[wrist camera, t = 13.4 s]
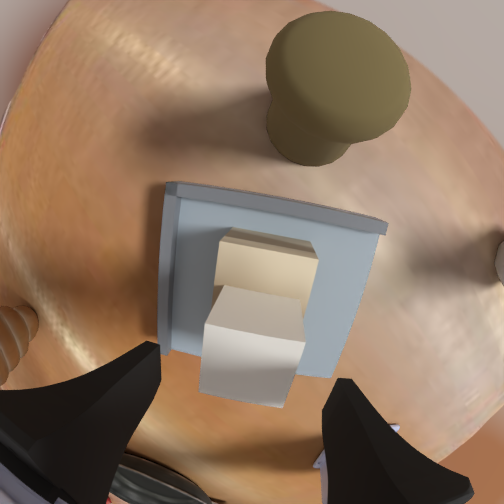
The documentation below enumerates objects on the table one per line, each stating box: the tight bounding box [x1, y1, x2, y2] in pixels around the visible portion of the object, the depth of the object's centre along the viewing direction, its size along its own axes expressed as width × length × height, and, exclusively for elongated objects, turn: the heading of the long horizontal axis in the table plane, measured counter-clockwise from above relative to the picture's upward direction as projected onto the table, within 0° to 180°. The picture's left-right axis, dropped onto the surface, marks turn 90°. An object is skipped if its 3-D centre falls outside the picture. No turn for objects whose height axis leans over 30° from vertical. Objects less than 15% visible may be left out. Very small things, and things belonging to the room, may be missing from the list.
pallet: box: [211, 227, 319, 318], centre depth 16 cm, size 8×5×4 cm, turn 171°
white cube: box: [199, 285, 306, 408], centre depth 13 cm, size 4×4×4 cm
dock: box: [157, 181, 388, 378], centre depth 19 cm, size 13×14×2 cm
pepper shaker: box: [266, 11, 411, 166], centre depth 11 cm, size 6×6×11 cm
